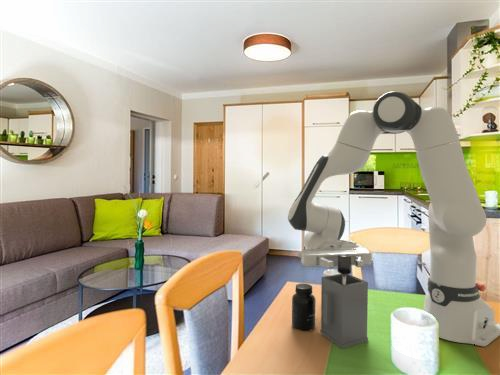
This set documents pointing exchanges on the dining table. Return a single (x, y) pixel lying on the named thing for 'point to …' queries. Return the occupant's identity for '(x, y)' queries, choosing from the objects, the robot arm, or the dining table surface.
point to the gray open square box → (344, 310)
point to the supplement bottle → (303, 308)
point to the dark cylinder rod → (344, 266)
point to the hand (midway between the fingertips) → (345, 264)
